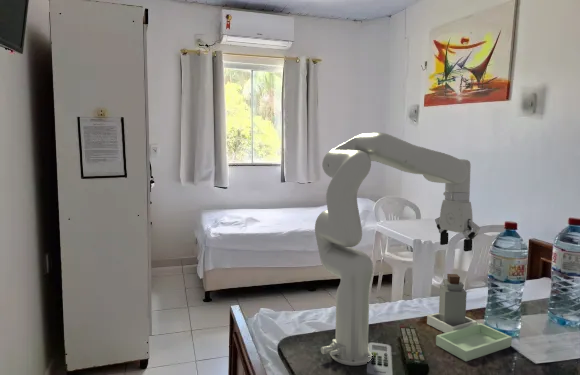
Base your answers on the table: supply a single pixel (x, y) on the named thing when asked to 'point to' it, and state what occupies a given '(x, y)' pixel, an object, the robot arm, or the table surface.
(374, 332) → the table surface
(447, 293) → the perfume bottle
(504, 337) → the green bin
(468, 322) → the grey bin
